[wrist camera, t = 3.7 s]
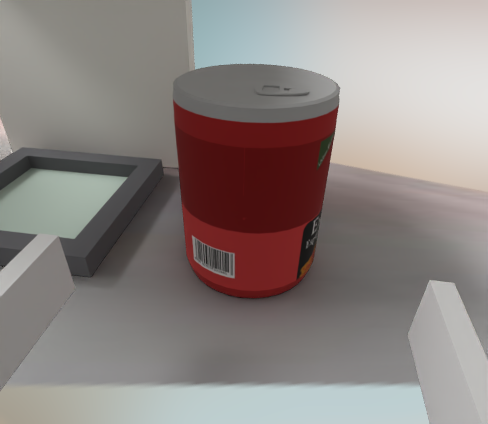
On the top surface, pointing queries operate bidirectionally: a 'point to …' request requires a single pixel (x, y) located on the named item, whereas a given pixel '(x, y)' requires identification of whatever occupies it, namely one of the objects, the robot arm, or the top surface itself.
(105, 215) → the grey picture frame
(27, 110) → the shelf
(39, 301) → the robot arm
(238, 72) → the canned food
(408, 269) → the top surface
